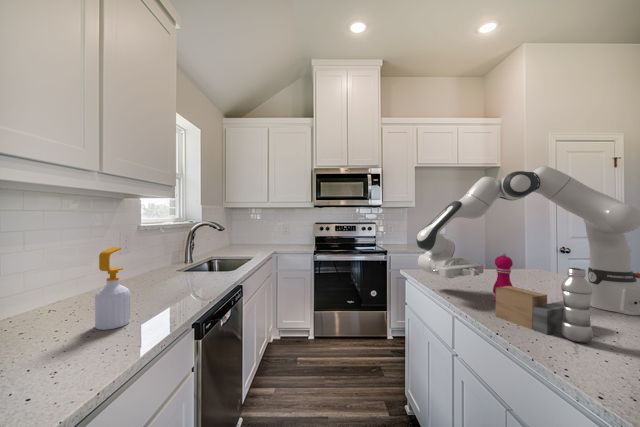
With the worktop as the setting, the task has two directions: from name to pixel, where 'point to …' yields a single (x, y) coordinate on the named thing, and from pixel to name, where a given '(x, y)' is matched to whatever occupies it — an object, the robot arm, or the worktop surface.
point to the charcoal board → (548, 317)
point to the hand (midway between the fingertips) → (476, 273)
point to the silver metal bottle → (576, 306)
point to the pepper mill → (502, 272)
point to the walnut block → (518, 305)
